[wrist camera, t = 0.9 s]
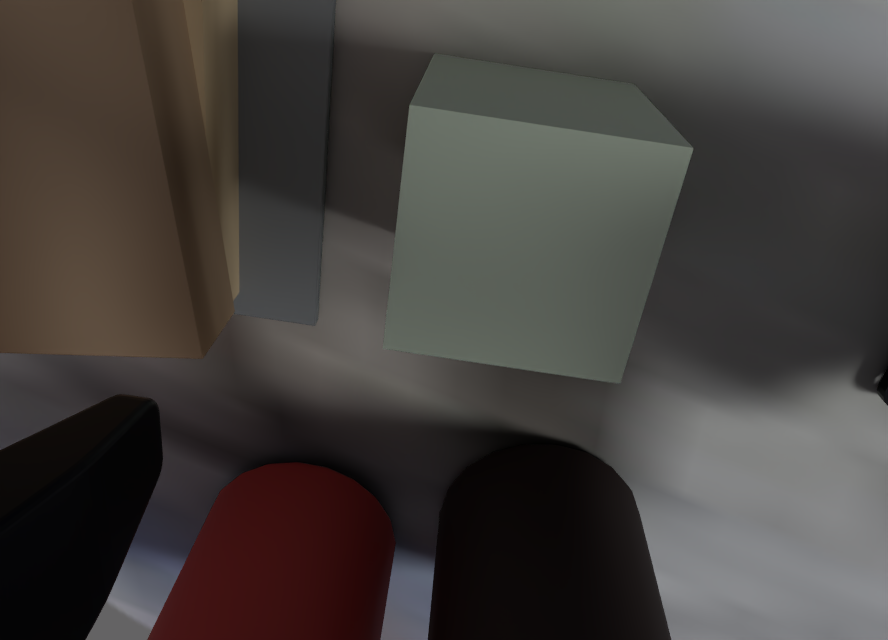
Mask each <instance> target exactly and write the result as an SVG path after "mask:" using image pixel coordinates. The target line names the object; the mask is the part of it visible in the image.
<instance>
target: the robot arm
mask: <svg viewBox="0 0 888 640" xmlns="http://www.w3.org/2000/svg"><path fill="white" fill-rule="evenodd" d="M877 392H878V395H879V396H880V397H881V399H882V400H883V401H884V402H885V403H886V404H887V405H888V367H887V369H886V371H885V373H884V375H883V377H882V379H881V381H880V382H879V384H878V388H877ZM162 461H163V452H162V439H161V427H160V414H159V408H158V405H157V403H156V402H155V401H154V400H153V399H150V398H145V397H138V396H131V395H124V394H119V395H115V396H113V397H110V398H108V399H106V400H104V401H102V402H100V403H98V404H96V405H94V406H92V407H89V408H87V409H85V410H83V411H81V412H79V413H77V414H75V415H73V416H71V417H69V418H67V419H64V420H62V421H60V422H58V423H56V424H54V425H52V426H50V427H48V428H46V429H44V430H42V431H40V432H37V433H35V434H33V435H31V436H29V437H27V438H25V439H23V440H21V441H19V442H17V443H15V444H12V445H10V446H8V447H6V448H4V449H2V450H0V640H85V639H86V638H87V636H88V634H89V632H90V630H91V629H92V627H93V625H94V623H95V622H96V620H97V618H98V616H99V614H100V612H101V610H102V608H103V606H104V604H105V603H106V601H107V599H108V596H109V594H110V592H111V590H112V587H113V585H114V583H115V581H116V578H117V576H118V574H119V571H120V569H121V567H122V564H123V562H124V559H125V557H126V555H127V552H128V550H129V548H130V545H131V543H132V540H133V538H134V536H135V533H136V531H137V528H138V526H139V524H140V521H141V519H142V517H143V514H144V512H145V509H146V507H147V505H148V502H149V500H150V498H151V495H152V493H153V490H154V488H155V486H156V483H157V481H158V478H159V476H160V472H161V468H162Z"/></svg>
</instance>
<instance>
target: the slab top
mask: <svg viewBox="0 0 888 640" xmlns="http://www.w3.org/2000/svg"><path fill="white" fill-rule="evenodd" d="M234 312H235V309H234V303H233V297H232V291H231V285H230V279H229V273H228V267H227V261H226V255H225V249H224V243H223V237H222V231H221V225H220V219H219V213H218V207H217V201H216V195H215V189H214V183H213V177H212V171H211V165H210V159H209V153H208V147H207V141H206V135H205V129H204V123H203V117H202V111H201V105H200V99H199V93H198V87H197V80H196V74H195V68H194V62H193V56H192V50H191V44H190V38H189V32H188V26H187V20H186V14H185V8H184V2H183V0H0V353H24V354H58V355H92V356H125V357H159V358H193V359H203V358H204V356H205V355H206V353H207V352H208V350H209V349H210V347H211V346H212V344H213V343H214V341H215V340H216V339H217V337H218V336H219V334H220V333H221V331H222V330H223V328H224V327H225V325H226V324H227V322H228V321H229V319H230V318H231V316H232V315H233V313H234Z"/></svg>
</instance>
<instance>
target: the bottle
mask: <svg viewBox="0 0 888 640" xmlns="http://www.w3.org/2000/svg"><path fill="white" fill-rule="evenodd" d="M428 640H671V637H670V633H669V629H668V625H667V621H666V617H665V613H664V609H663V605H662V601H661V597H660V593H659V589H658V585H657V581H656V577H655V573H654V569H653V565H652V561H651V557H650V553H649V549H648V545H647V541H646V537H645V533H644V529H643V525H642V521H641V517H640V514H639V511H638V508H637V505H636V502H635V499H634V496H633V493H632V491H631V489H630V488H629V486H628V485H627V484H626V483H625V482H624V481H623V480H622V478H621V477H620V476H619V475H618V474H617V473H616V472H615V470H614V469H613V468H612V467H611V466H609V465H607V464H605V463H604V462H602V461H600V460H599V459H597V458H595V457H593V456H592V455H590V454H588V453H587V452H583V451H579V450H575V449H571V448H567V447H563V446H559V445H555V444H550V445H519V446H515V447H512V448H508V449H504V450H500V451H496V452H492V453H490V454H489V455H487V456H485V457H484V458H482V459H480V460H478V461H477V462H475V463H473V464H472V465H470V466H468V467H467V468H466V469H465V470H464V471H463V472H462V473H461V475H460V476H459V477H458V478H457V479H456V480H455V481H454V482H453V484H452V485H451V486H450V487H449V489H448V491H447V494H446V497H445V500H444V502H443V505H442V508H441V511H440V514H439V525H438V535H437V546H436V557H435V568H434V579H433V590H432V601H431V612H430V622H429V633H428Z"/></svg>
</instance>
